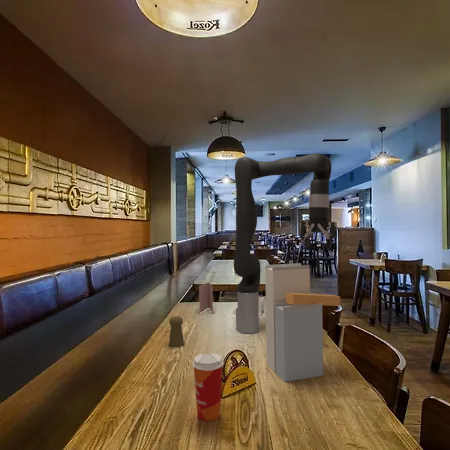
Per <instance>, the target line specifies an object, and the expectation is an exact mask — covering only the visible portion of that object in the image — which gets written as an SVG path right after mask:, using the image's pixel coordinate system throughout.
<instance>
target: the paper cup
mask: <svg viewBox="0 0 450 450" xmlns="http://www.w3.org/2000/svg"><path fill="white" fill-rule="evenodd" d="M223 366H224V361H223V358H222V356H221V355H220V354H217V353H214V352H211V353H207V352H206V353H205V354H204V353H200V354H197V355H196V356H194V358H193V361H192V367H193V373H194V374H193V375H194V388H195V390H194V392H195V402H196V404H195V405H196V413H197V414H196V415H197V418H198V419H199V420H200V419H201V421H202V420H203V422H213V421H216V420H218V419H219V417H220V416H221V408H222V405H221V404H222V403H221V402H222V381H223V380H222V379H223Z"/></svg>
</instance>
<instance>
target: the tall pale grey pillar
mask: <svg viewBox="0 0 450 450" xmlns="http://www.w3.org/2000/svg"><path fill="white" fill-rule="evenodd" d="M264 268H265V272H264V273H265V274H264V275H265V296H266V320H265V322H266V323H265V325H266V327H265V329H266V330H265V331H266V333H265V334H266V337H265V339H266V341H265V342H266V366H268V367H269V368H270V370H272V372H274V373H276V342H275V303H281V302H286V297H287V293H302V294H311V279H310V278H311V274H310V273H311V272H310V269H311V267H310V264H305V265H304V264H303V265H302V263H300V262H299V263H285V264H284V263H282V264H280V263H279V264H265V267H264Z"/></svg>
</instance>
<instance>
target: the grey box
mask: <svg viewBox="0 0 450 450" xmlns="http://www.w3.org/2000/svg"><path fill="white" fill-rule="evenodd" d="M323 329H324V328H323V305H322V304H310V305H293V304H289V303H286V302H281V303H275V342H276V372H275V374H276V375H277V376H278V377H279V378H280V380H282V381H283V382H284V383H286V382H294V381H299V380H305V379H310V378H312V379H313V378H317V377H323V376H324V344H323V343H324V339H323V337H324V336H323V333H324V332H323Z"/></svg>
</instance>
